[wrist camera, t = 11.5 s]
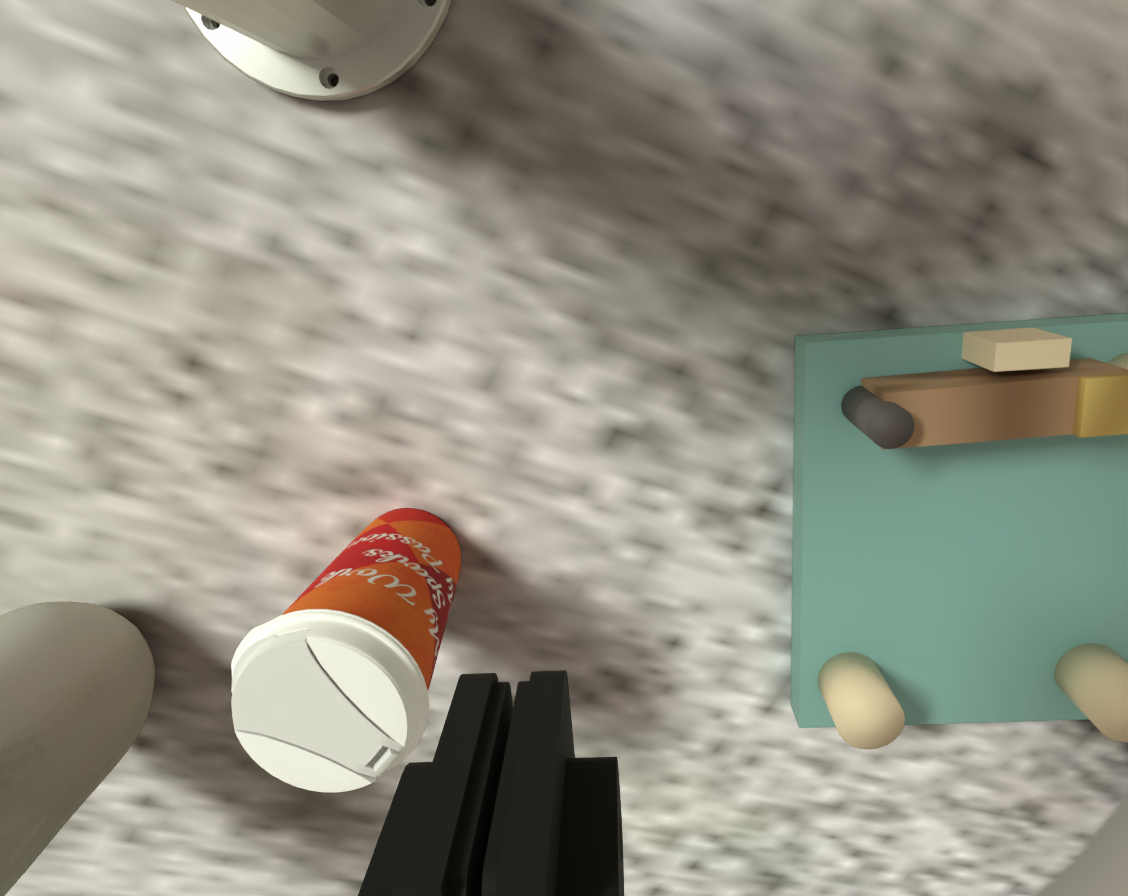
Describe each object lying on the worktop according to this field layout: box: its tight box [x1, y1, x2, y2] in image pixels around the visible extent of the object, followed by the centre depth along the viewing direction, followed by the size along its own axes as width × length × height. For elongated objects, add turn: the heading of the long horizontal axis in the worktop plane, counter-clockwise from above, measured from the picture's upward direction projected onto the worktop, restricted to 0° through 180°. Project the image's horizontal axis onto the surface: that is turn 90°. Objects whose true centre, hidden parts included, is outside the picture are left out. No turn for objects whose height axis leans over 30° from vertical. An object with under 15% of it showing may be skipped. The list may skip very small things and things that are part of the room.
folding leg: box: [841, 358, 1128, 450], centre depth 33 cm, size 11×2×4 cm, turn 96°
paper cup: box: [231, 508, 461, 792], centre depth 34 cm, size 8×8×14 cm
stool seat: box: [791, 313, 1128, 749], centre depth 36 cm, size 21×17×6 cm
